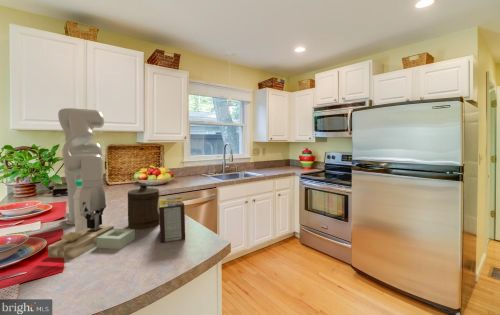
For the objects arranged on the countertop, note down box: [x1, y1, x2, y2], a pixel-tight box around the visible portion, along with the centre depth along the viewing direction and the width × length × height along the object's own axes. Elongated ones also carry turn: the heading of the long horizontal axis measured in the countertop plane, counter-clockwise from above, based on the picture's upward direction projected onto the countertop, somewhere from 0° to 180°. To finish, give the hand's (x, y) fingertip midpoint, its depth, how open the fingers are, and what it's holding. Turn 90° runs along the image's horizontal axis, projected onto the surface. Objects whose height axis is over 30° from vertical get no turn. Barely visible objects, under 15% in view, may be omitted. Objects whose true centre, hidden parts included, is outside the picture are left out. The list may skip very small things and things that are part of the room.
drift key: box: [60, 231, 81, 243], centre depth 94 cm, size 4×4×5 cm
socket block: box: [47, 225, 115, 259], centre depth 100 cm, size 10×22×5 cm, turn 173°
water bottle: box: [73, 180, 90, 233], centre depth 114 cm, size 7×7×25 cm
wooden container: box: [127, 182, 160, 231], centre depth 124 cm, size 15×15×22 cm
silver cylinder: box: [89, 212, 101, 232], centre depth 105 cm, size 4×4×11 cm
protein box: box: [159, 197, 186, 244], centre depth 112 cm, size 10×15×16 cm
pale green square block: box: [96, 228, 136, 250], centre depth 101 cm, size 10×10×5 cm
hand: (94, 225), depth 105 cm, fingers closed on silver cylinder, 3 cm apart
